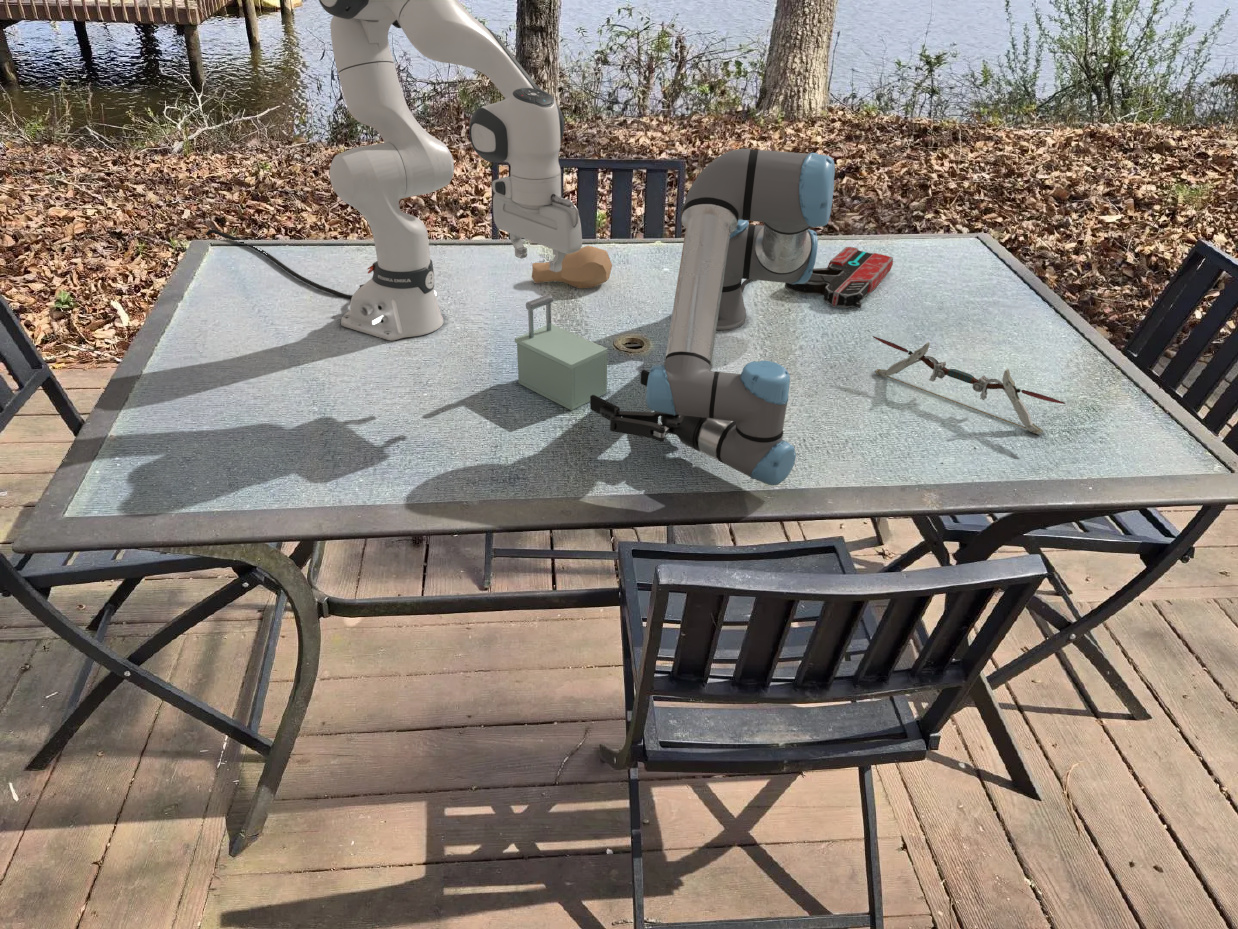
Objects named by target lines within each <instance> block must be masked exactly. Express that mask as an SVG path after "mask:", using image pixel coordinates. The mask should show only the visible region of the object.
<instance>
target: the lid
mask: <svg viewBox="0 0 1238 929" xmlns="http://www.w3.org/2000/svg"><path fill="white" fill-rule="evenodd" d="M553 302H554V297H553V296H552V295H551V294H546V295H543V296H540V297H538V298H535V299H532V300H530V301H527V302H526V303H525V309H526V310H527V314H528V316H527V317H528V319H527V320H528V332H527V333H524V334H522V335H519V336H516V337H514V343H515V344H516V345H517V344H519V345H522V346H524V347H526V348H528V349H530V350H532V351H534V352H536V353H538V354H541V355H543V356H545V357H547V358H549V359H551V360H553V361H555V362H557V363H560V364H562V365H564V366H566V367H568V368H570V369H572V368H574V367H577V366H579V365H581V364H583V363H585V362H588V361H590V360H592V359H594V358H597V357H599V356H601V355H603V354H605V353H607V354H608V348H607V347H605V346H603V345H601V344H598V343H597V342H593V341H591V340H589V339H587V338H585V337H582V336H580V335H578V334H575V333H573V332H571V331H569V330H566V329H564V328H562V327H560V326H558V325H555V324H553V323H552V306H551V305H552V303H553ZM544 306H545V320H546V321H545V323H546V325H545V326H542V327H539V328H537V329H534V310H536V309H538V308H539V309H540V308H542V307H544Z"/></svg>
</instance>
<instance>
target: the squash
mask: <svg viewBox="0 0 1238 929" xmlns="http://www.w3.org/2000/svg"><path fill="white" fill-rule="evenodd" d="M549 262H550V261H546V262H533V263H532V264H531V266H532V269H531V270H532V271H531V279H532V281H533V282H534V283H535V284H539V283H546V282H548V283H549V282H560V283H565V284H568V285H569V286H571V287H574V288H577V289H594V288H596V287H597V286H600V285H602V284H603V283H605V282H607V281H608V280H609V278H610V277H611V276H610V275H611V272H612V268H613V264H612V261H611V258H610V256H609V253H608V251H607V250H605V249H602V248H599V247H596V246H591V245H585V246H582V247H581V248H580V250H579V251H577V252H574V253H571V254H566V255H565V257H564V259H563V261H562V270H561V271H559V272H554V271H551V270H550V269H549V267H550V265H549Z"/></svg>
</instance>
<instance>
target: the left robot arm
mask: <svg viewBox="0 0 1238 929" xmlns="http://www.w3.org/2000/svg"><path fill="white" fill-rule="evenodd" d="M318 2H319V5H320V6H321V7H322V9H323V10H324V11H325V12H326V13H328V14H329V15H331V16H332V17H331V20H330V24H329V26H330V29H329V30H330V39H331V47H332V53H333V57H334V63H335V67H336V71H337V74H338V78H339V82H340V86H341V90H342V93H343V97H344V100H345V104H346V108H347V110H348V112H349V115H350V116H351V117H352V118H353V119H355V121H357V122H358V123H360V124H362V125H364V126H367V127H370V128H373V130H375V132H377V133H378V134H379V135H380V137H381V138H382V140H383V143H374V144H368V145H362V146H361V145H360V146H355V147H352V148H350V149H348V150H345V151H343V152H340V153H338V154H336V155H335V156H333V158H332V161H331V162H330V166H329V182H330V185H331V187H332V189H333V191H334V193H335V194H336V196H337V197H338V198H339V199H340V200H341V201H342V202H344V203H346V204H347V205H349V206H351V207H353V208H354V209H355V210H357V211H358V212H359V213H360V214H361V215H362V216H363V218H364V220H366V222H367V224H368V226H369V228H370V230H371V234H372V238H373V239H372V240H373V243H374V248H375V253H376V254H375V255H376V261H374V262H373V263H372V265H371V266H369V267H368V268H367V274H370V273H372V277H371V278H370V279H369V280H367V282H365V283H363V284H360V285H359V288H358V289H356V290H355V292H354V293H353V294H346V293H343V292H340V291H338V290H335V289H332V288H330V287H326V286H323V285H321V284H318V283H316V282H314V281H312V280H311V279H308V278H306V277H304V276H303V275H301V274H299V273H297V272H296V271H294V270H293V269H291V268H289V267H288V266H287V265H285V264H284V263H282V262H281V261H280V260H278V259H277V258H275V257H274V256H272V254H270V253H269V252H267V251H265V250H264V249H262V251H260V250H258V249H257V248H255V247H253V246H251V245H247V244H243V246H246V247H248V248H250V249H253V250H255V251H256V252H258V253H260V254H261V255H263V256H265V257H266V258H268V259H269V260H271V261H272V262H273V263H275V265H277V266H279V267H280V268H281V269H283V270H284V271H285V272H286V273H288V274H290V276H293V277H294V278H296V279H298V280H300V281H301V282H303V283H305V284H308V285H309V286H311V287H313V288H315V289H318V290H320V291H323V292H326V293H329V294H332V295H334V296H337V297H339V298H343V299H348V300H350V305H349V310H347V311H346V313H344V314H343V316H342V317H341V320H340V324H341V326H342V327H344V328H347V329H350V330H354V331H357V332H360V333H364V334H367V335H370V336H373V337H377V338H380V339H383V340H387V341H396V340H397V341H398V340H401V339H404V338H412V337H420V336H423V335H427V334H430V333H431V334H432V333H434V332H436V331H437V330H439V329H441V327H442V326H443V325H444V323H445V320H444V317H443V314H442V312H441V310H440V307H439V303H438V300H437V291H436V290H435V271H434V264H433V260H432V259H431V253H430V243H429V232H428V229H427V226H426V225H425V223H424V222H423V221H422V220H421V219H420V218H419V217H417V216H415V215H412V214H409V213H407V212H404V211H402V210H401V207H400V200H402V199H406V198H412V197H417V196H418V197H419V196H423V195H428V194H432V193H434V192H436V191H439V190H441V189H443V188H445V187H448V186H449V185H450V183H451V182H452V180H453V177H454V173H455V162H454V158H453V154H452V153H451V151H450V149H449V148H448V146H447V145H446V144H445V143H444V142H443V141H442V140H440V139H438V138H436V136H433V135H432V134H430V133H429V132H428V131H427V130H426V129H425V128H423V126H421V124H420V123H419V122H418V121H417V119H416V118H415V117H414V115H413V114H412V111H411V110H410V108H409V106H408V104H407V101H406V99H405V96H404V93H403V90H402V89H403V88H402V86H401V83H400V80H399V76H398V71H397V69H396V64H395V60H394V58H393V54H392V51H391V48H390V44H389V43H390V42H389V31H390V28H391V26H393V27H394V28H397V29H401V30H402V32H403V33H404V35H405V36H406V38H407V40H408V41H409V43H411V45H412V46H413V47H414V48H415V49H416V51H418V52H419V53H420V54H421V55H422V56H424V57H425V58H427V59H430V60H432V61H435V62H438V63H439V62H440V63H444V64H451V65H457V66H461V67H466V68H468V69H472V70H475V71H477V72H479V73H481V74H483V75H484V76H485V77H487V78H488V79H489V80H490V81H491V83H492V84H493V85H494V86H495V87H496V89H497V90H498V91H499V93H500V94H501V95H502V96H503V97H504V99H502V100H500V101H497V102H493V103H490V104H486V105H483V106H481V107H478V108H476V109H475V110H474V112H473V113H472V116H471V118H470V121H469V128H468V129H469V130H468V132H469V139H470V140H469V141H470V144H471V146H472V148H473V150H474V151H475V153H476V154H477V155H478V156H479V158H481V159H482V160H484V161H485V162H488V163H489V162H490V163H501V162H505V163H508V164H509V166H510V173H509V175H508V176H503V177H501V178H497V179H494V180H492V181H491V189H492V191H493V193H494V194H493V197H492V212H493V222H494V224H495V226H496V228H497V229H498V230H500V231H503V232H506V233H508V234H509V240H510V242H511V243H512V246H513V248H514V256H515V257H516V258H519V259H525V258H527V256H528V247H525V245H524V241H523V240H527V241H530V242H532V243H535V244H538V245H540V246H543V247H546V248H548V249H551V250H552V255H554V256H553V259H552V260H550V261H548V262H549V265H550V267H549V269H550V270H551V271H554V272H559V271H561V270H562V261H563V259H564V257H565V255H566V254H571V253H574V252H577V251H579V250H580V248H582V247H583V234H582V224H581V218H580V217H581V216H580V214H579V209H578V208H577V206H576V205H575V204H574V201H572V199H569V198H564V197H562V174H561V173H562V169H561V166H560V162H559V154H560V151H561V143H562V140H563V137H564V134H565V118H564V115H563V112H562V110H561V108H560V106H559V105H558V103H557V101H556V99H555V97H554V96H552V94H550V93H549V92H547V91H545V90H543V89H541V88H540V87H539V86H538V85H537V83H535V81H534V80H533V79H532V77H531V76H530V75H529V74H528V73H527V70H525V69H524V67H523V66H522V65H521V64H520V63H519V61H518V60H517V58H515V56H514V55H513V54H512V53H511V50H509V49H508V48H507V46H506V45H505V44H504V42H503V41H502V40H501V39H500V38H499V37H498V36H497V34H496V33H495V32H494V31H492V30H491V29H490V28H488V27H487V26H486V25H484V24H482V23H481V22H480V21H479V20H477V19H476V18H475V17H474V16H473V15H472V14H471V13H470V11H468V10H467V9H466V8H465V6H463V5H462V3H461V2H460V1H459V0H318ZM211 234H215V235H218V236H219V237H222V238H225V239H228V240H231V241H234V240H243V239H241V238H239V237H236V236H234V235H230V234H227V233H224V232H222V231H220V230H217V229H209V230H207V231H206V232H205V236H210V235H211ZM238 243H239V244H242V243H244V242H238ZM263 252H265V253H266V252H267V253H266V254H267V255H266V254H265V253H263Z"/></svg>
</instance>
